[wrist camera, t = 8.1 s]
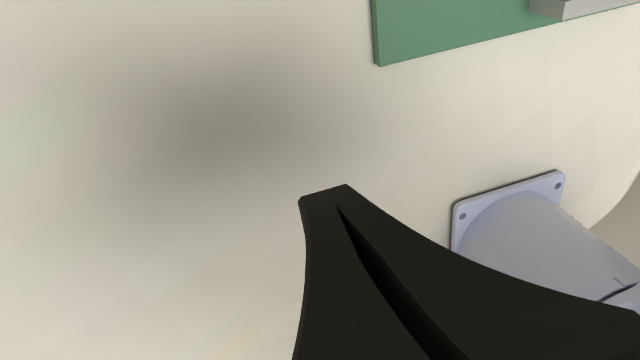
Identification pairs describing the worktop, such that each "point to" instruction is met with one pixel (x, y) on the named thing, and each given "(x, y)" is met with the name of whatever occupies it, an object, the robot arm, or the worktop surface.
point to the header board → (465, 22)
